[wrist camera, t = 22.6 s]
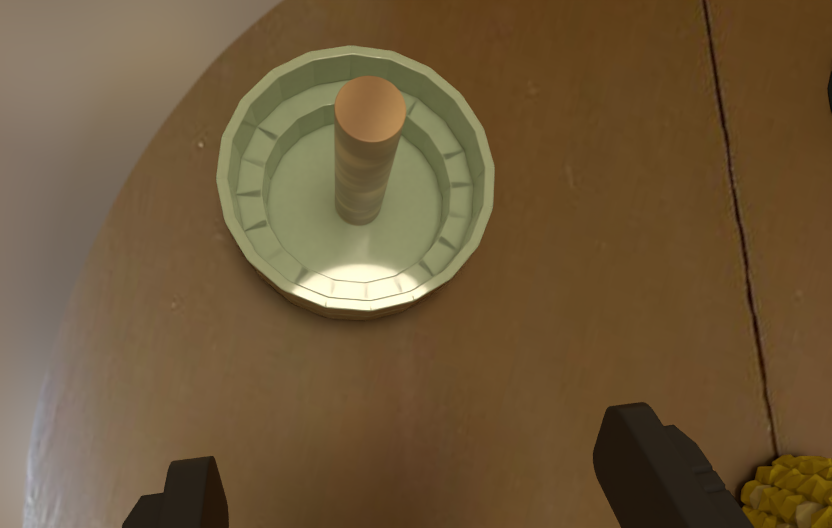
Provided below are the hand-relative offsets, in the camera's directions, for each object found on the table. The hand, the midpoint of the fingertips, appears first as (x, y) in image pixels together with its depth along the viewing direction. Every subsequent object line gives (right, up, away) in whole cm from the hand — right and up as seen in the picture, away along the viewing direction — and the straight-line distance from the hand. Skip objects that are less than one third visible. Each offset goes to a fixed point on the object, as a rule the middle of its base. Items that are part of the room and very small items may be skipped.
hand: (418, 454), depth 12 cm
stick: (-4, +8, +26) cm, 27 cm away
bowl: (-4, +8, +26) cm, 28 cm away
